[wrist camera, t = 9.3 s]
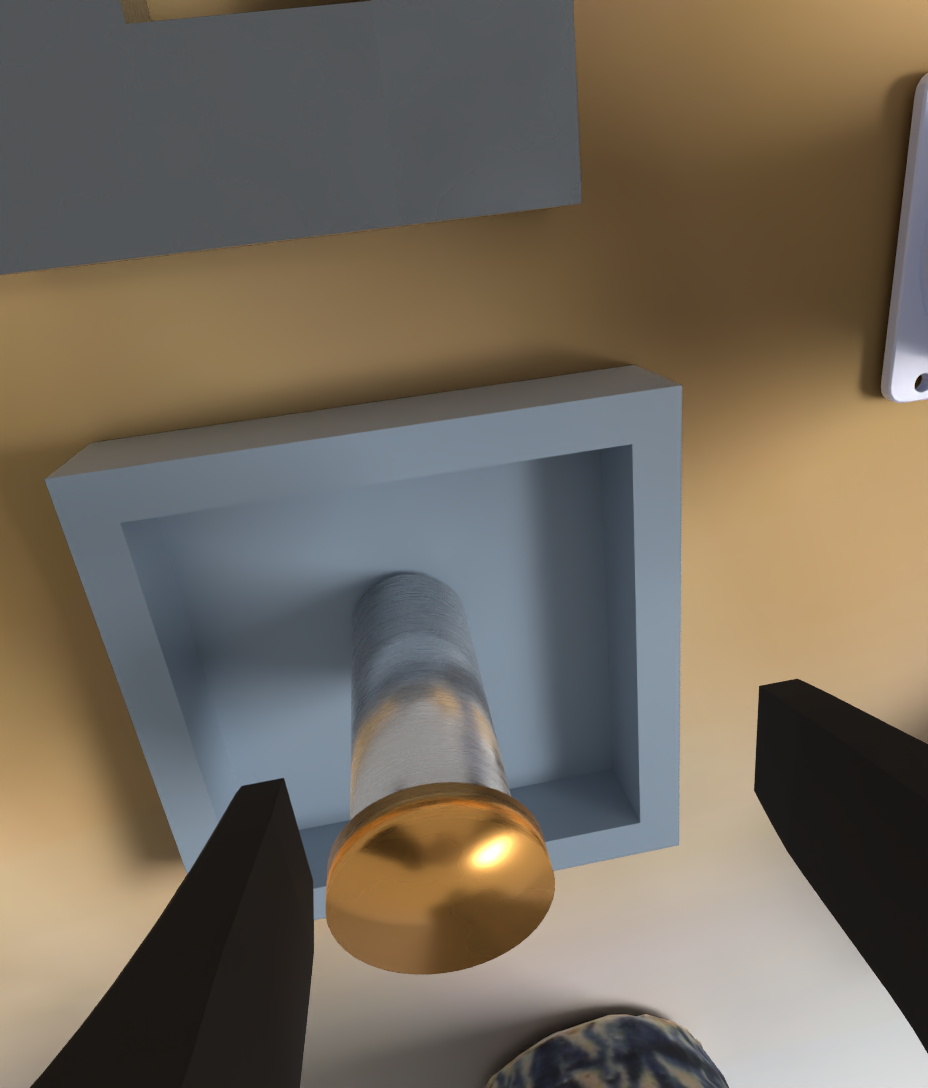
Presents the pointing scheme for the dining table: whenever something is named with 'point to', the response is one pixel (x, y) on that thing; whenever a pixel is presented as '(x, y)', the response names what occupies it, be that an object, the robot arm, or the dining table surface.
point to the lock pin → (428, 798)
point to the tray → (388, 550)
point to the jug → (614, 1058)
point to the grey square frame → (275, 123)
